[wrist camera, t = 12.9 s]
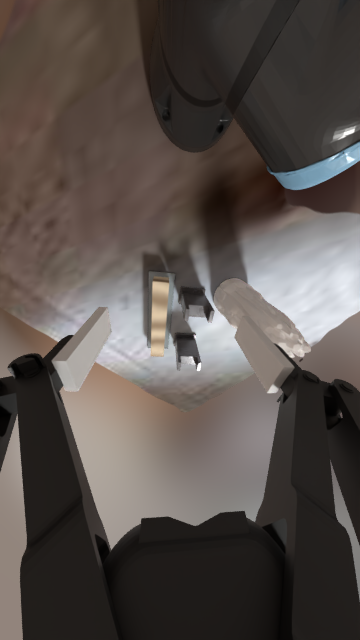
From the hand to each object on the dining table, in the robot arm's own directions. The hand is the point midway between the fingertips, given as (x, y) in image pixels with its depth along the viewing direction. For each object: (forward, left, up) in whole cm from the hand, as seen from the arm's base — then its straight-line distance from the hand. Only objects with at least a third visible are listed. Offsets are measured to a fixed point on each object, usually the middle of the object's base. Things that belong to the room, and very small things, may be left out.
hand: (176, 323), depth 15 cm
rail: (+15, -2, -29) cm, 32 cm away
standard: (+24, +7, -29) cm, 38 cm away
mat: (+15, -2, -29) cm, 33 cm away
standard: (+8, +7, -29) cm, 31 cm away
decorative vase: (+7, +19, -29) cm, 35 cm away
